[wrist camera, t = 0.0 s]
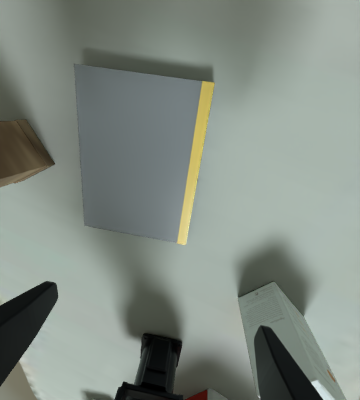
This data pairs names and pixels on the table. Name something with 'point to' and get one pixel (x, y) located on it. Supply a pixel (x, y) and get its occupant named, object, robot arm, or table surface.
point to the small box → (287, 337)
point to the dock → (140, 149)
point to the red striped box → (207, 396)
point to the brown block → (20, 152)
